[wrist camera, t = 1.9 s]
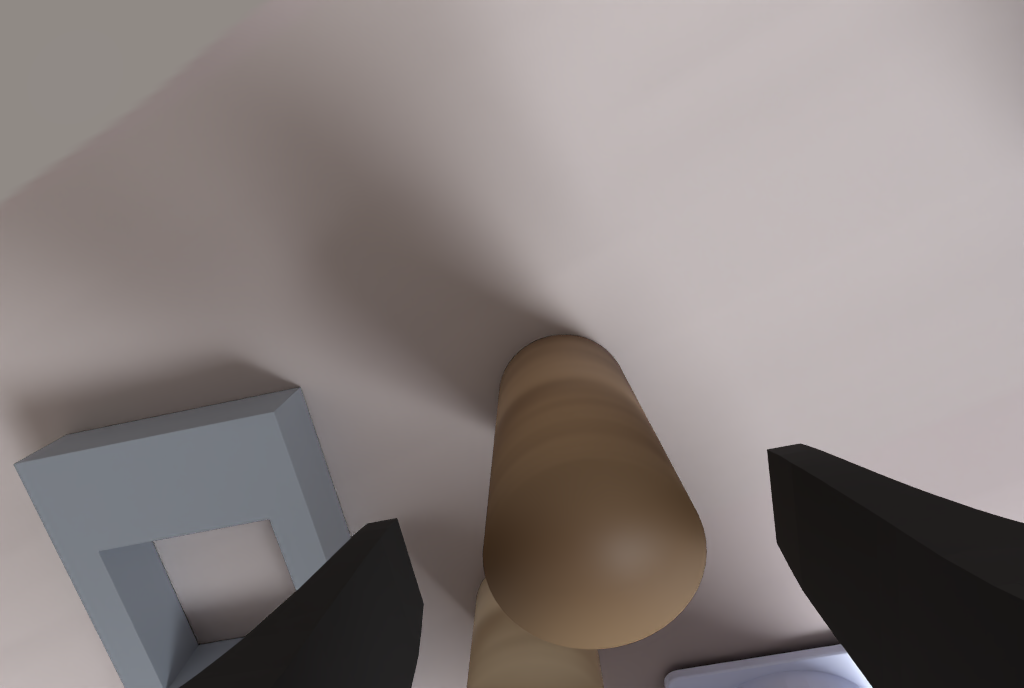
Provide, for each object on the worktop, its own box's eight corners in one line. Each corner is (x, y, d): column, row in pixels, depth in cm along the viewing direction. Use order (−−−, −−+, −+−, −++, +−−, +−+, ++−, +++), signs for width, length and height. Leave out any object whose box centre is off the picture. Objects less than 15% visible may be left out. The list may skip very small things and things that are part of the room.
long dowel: (635, 441, 18) (718, 630, 11) (513, 464, 19) (508, 664, 11) (615, 322, 17) (691, 438, 10) (486, 349, 18) (459, 481, 10)
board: (400, 686, 21) (388, 736, 19) (197, 718, 22) (166, 771, 20) (300, 387, 18) (273, 411, 16) (66, 434, 19) (13, 464, 17)
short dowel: (598, 641, 21) (619, 764, 16) (490, 658, 21) (481, 784, 16) (578, 546, 19) (595, 651, 15) (464, 566, 20) (448, 675, 15)
